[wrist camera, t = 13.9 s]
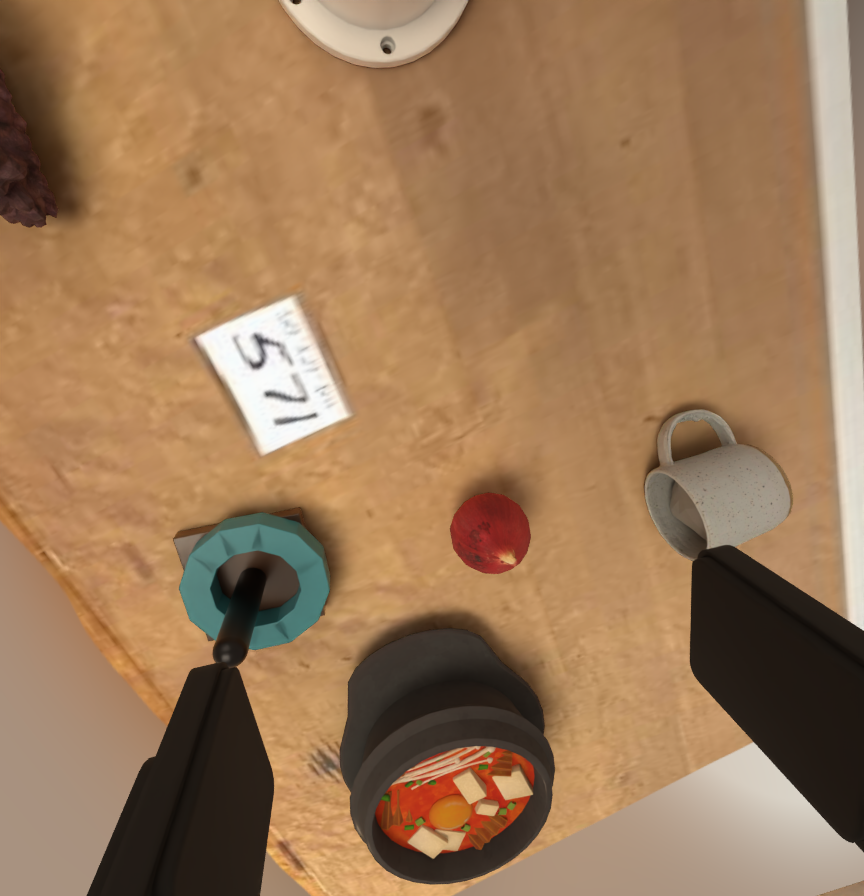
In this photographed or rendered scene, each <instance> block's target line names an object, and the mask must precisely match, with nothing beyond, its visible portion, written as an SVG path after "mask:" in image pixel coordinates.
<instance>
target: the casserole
mask: <svg viewBox="0 0 864 896" xmlns="http://www.w3.org/2000/svg"><path fill="white" fill-rule="evenodd" d="M543 734H544V717H543V710H542V707H541V705H540V702H539V700H538V697H537V695H536V694H535V693H534V691H533V690H532V689H531V687H530V686H529V684H528V683H527V682H525V681H524V680H523V679H522V678H520V677H519V676H518V675H517V674H516V673H514V672H513V671H512V670H511V669H509V668H508V667H507V666H506V665H504V664H503V663H502V662H501V661H500V660H499V658H498V657H497V656H496V655H495V653H494V652H493V651H492V649H491V648H490V647H489V646H488V644H487V643H486V642H485V641H484V639H483V638H482V637H481V636H479V635H477V634H475V633H473V632H470V631H468V630H463V629H452V628H447V629H436V630H428V631H424V632H420V633H416V634H412V635H408V636H405V637H403V638H401V639H398V640H396V641H394V642H391V643H389V644H387V645H385V646H384V647H382V648H380V649H379V650H377V651H376V652H374V653H373V654H371V655H369V656H368V657H367V658H366V659H365V660H364V661H363V662H362V663H361V664H360V665H359V666H357V667H356V668H355V670H354V672H353V674H352V676H351V678H350V680H349V682H348V718H347V722H346V726H345V730H344V734H343V739H342V743H341V747H340V768H341V771H342V775H343V778H344V781H345V783H346V785H347V787H348V788H349V790H350V791H351V796H350V814H351V817H352V820H353V824H354V827H355V829H356V831H357V832H358V834H359V835H360V837H361V839H362V840H363V841H364V842H365V843H366V844H367V846H368V849H369V851H370V852H371V854H372V855H373V857H374V859H375V860H376V861H377V862H378V863H379V864H380V865H381V866H382V867H383V868H384V869H385V870H386V871H388V872H390V873H392V874H394V875H396V876H397V877H399V878H402V879H405V880H409V881H412V882H416V883H424V884H451V883H456V882H462V881H467V880H470V879H473V878H476V877H480V876H483V875H485V874H487V873H489V872H491V871H494V870H496V869H498V868H500V867H501V866H503V865H505V864H506V863H508V862H509V861H511V860H512V859H514V858H515V857H516V856H518V855H519V854H520V853H521V852H522V851H523V850H525V849H526V848H527V847H528V846H529V845H530V843H531V842H532V841H533V840H534V839H535V838H536V836H537V835H538V834H539V832H540V830H541V829H542V827H543V826H544V824H545V822H546V820H547V817H548V814H549V812H550V809H551V803H552V795H553V794H552V786H553V781H554V773H555V765H554V756H553V753H552V750H551V748H550V745H549V743H548V741H547V739H546V738H545V737H544V735H543Z"/></svg>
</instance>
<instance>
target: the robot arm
mask: <svg viewBox="0 0 864 896" xmlns="http://www.w3.org/2000/svg"><path fill="white" fill-rule="evenodd" d="M300 1H301V3H300V4H298V5H296V4H293V3H292V2H293V0H279V2H280V4H281V6H282V7H283V9H284V10H285V11H286V13H287V14H288V15H289V17H290V18H291V19H292V21H293V22H294V23H295V24H296V26H297V27H298V28H299V29H300V30H301V31H302V32H303V33H304V34H305V35H306V36H307V37H308V38H309V39H311V40H312V41H313V42H314V43H315V44H316V45H318V46H319V47H321V48H322V49H324V50H325V51H327V52H328V53H330V54H331V55H333V56H334V57H337V58H339V59H342V60H344V61H347V62H349V63H352V64H354V65H360V66H365V67H371V68H387V67H396V66H400V65H403V64H407V63H410V62H413V61H415V60H417V59H419V58H420V57H422V56H424V55H426V54H428V53H430V52H431V51H432V50H433V49H434V48H435V47H436V46H438V45H439V44H440V43H441V42H442V41H443V40H444V39H445V38H446V37H447V36H448V34H449V33H450V32H451V30H452V29H453V28H454V26H455V25H456V24H457V22H458V20H459V18H460V16H461V14H462V12H463V10H464V8H465V7H466V4H467V2H468V0H300ZM384 48H389V49H390V51H391V54H385V53H384V52H383V49H384ZM690 666H691V669H692V672H693V674H694V676H695V677H696V679H697V680H698V681H699V683H700V684H701V685H702V686H703V687H704V688H705V689H706V690H707V691H708V692H709V694H710V695H711V696H712V697H713V698H714V699H715V700H716V701H717V702H718V703H719V704H720V706H721V707H722V708H723V709H724V710H725V711H726V712H727V713H728V714H729V715H730V716H731V718H732V719H733V720H734V721H735V722H736V723H737V724H738V725H739V726H740V727H741V728H742V730H743V731H744V732H745V733H746V734H747V735H748V736H749V737H750V738H751V739H752V741H753V742H754V743H755V744H756V745H757V746H758V747H759V748H760V749H761V750H762V751H763V752H764V754H765V755H766V756H767V757H768V758H769V759H770V760H771V761H772V762H773V763H774V764H775V766H776V767H777V768H778V769H779V770H780V771H781V772H782V773H783V774H784V775H785V777H786V778H787V779H788V780H789V781H790V782H791V783H792V784H793V785H794V786H795V788H796V789H797V790H798V791H799V792H800V793H801V794H802V795H803V796H804V797H805V798H806V799H807V801H808V802H809V803H810V804H811V805H812V806H813V807H814V808H815V809H816V810H817V812H818V813H819V814H820V815H821V816H822V817H823V818H824V819H825V820H826V821H827V822H828V823H829V825H830V826H831V827H832V828H833V829H834V830H835V831H836V832H837V833H838V834H839V835H840V836H841V837H842V838H843V839H845V840H846V841H848V842H852V843H854V842H855V843H856V845H857V846H858V847H859V848H860V849H861V850H862V851H863V852H864V631H863V630H862V629H860V628H858V627H857V626H855V625H854V624H852V623H851V622H849V621H848V620H846V619H845V618H843V617H842V616H840V615H838V614H837V613H835V612H834V611H832V610H831V609H829V608H828V607H826V606H825V605H823V604H822V603H820V602H818V601H817V600H815V599H814V598H812V597H811V596H809V595H808V594H806V593H805V592H803V591H802V590H800V589H798V588H797V587H795V586H794V585H792V584H791V583H789V582H788V581H786V580H785V579H783V578H782V577H780V576H778V575H777V574H775V573H774V572H772V571H771V570H769V569H768V568H766V567H765V566H763V565H762V564H760V563H758V562H757V561H755V560H754V559H752V558H751V557H749V556H748V555H746V554H745V553H743V552H742V551H740V550H738V549H737V548H735V547H734V546H731V545H723V546H718V547H714V548H710V549H705V550H702V551H700V552H699V554H698V557H697V559H695V560H694V561H693V563H692V588H691V633H690ZM273 795H274V778H273V772H272V768H271V765H270V762H269V759H268V756H267V753H266V750H265V747H264V744H263V741H262V738H261V735H260V732H259V729H258V726H257V723H256V720H255V717H254V714H253V711H252V708H251V705H250V702H249V699H248V696H247V693H246V690H245V687H244V684H243V681H242V678H241V675H240V672H239V670H238V668H237V667H233V668H229V667H228V665H227V664H226V663H225V662H219V663H215V664H210V665H206V666H202V667H197V668H193V669H192V670H191V671H190V673H189V674H188V677H187V679H186V682H185V684H184V687H183V689H182V692H181V694H180V697H179V699H178V702H177V704H176V707H175V709H174V712H173V714H172V717H171V719H170V722H169V724H168V727H167V729H166V732H165V734H164V737H163V739H162V742H161V744H160V747H159V749H158V752H157V754H156V756H155V757H152V758H149V759H148V760H147V761H146V762H145V763H144V764H143V766H142V767H141V769H140V771H139V773H138V776H137V778H136V780H135V783H134V785H133V787H132V790H131V792H130V794H129V797H128V799H127V801H126V804H125V806H124V809H123V811H122V813H121V816H120V818H119V820H118V823H117V825H116V828H115V830H114V832H113V835H112V837H111V839H110V842H109V844H108V847H107V849H106V851H105V854H104V856H103V858H102V861H101V863H100V865H99V868H98V870H97V873H96V875H95V877H94V880H93V882H92V884H91V887H90V889H89V892H88V894H87V896H260V891H261V883H262V876H263V869H264V861H265V853H266V847H267V839H268V832H269V825H270V817H271V810H272V802H273ZM818 896H864V881H861V882H858V883H855V884H852V885H849V886H846V887H842V888H839V889H836V890H834V891H830V892H827V893H824V894H821V895H818Z"/></svg>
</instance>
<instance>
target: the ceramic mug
mask: <svg viewBox="0 0 864 896" xmlns="http://www.w3.org/2000/svg"><path fill="white" fill-rule="evenodd" d="M701 419H703V420H704V421H706V422H707V423H709V424H710V425H711V426H712V428H713V429H714V430H715V431H716V433H717V435H718V437H719V439H720V442H721V444H722V447H719V448H715V449H713V450H710V451H707V452H705V453H702V454H699V455H695V456H692V457H688V458H685V459H682V460H679V461H675V462H673V460H672V456H671V436H672V433H673V430H674V429H675V427H676V424H677V423H679V422H683V421H690V420H692V421H699V420H701ZM657 449H658V458H659V462H660V467H658V468H656V469H653V470H652V471H651V472H650V473H649V474H648V475H647V478H646V480H645V498H646V503H647V507H648V510H649V513H650V516H651V518H652V520H653V522H654V524H655V526H656V527H657V529H658V531H659V533H660V534H661V536H662V537H663V538H664V539H665V540H666V542H667V543H668V544H669V545H670V546H671V547H672V548H673V549H674V550H675V551H676V552H678V553H679V554H680V555H682V556H683V557H685V558H687V559H689V560H691V561H694V560H695V559H697V557H698V554H699V552H700V551H702V550H705V549H710V548H714V547H718V546H723V545H731V546H734V547H736V546H738V545H740V544H742V543H744V542H746V541H748V540H750V539H752V538H755V537H757V536H759V535H761V534H764V533H766V532H768V531H770V530H772V529H773V528H775V527H776V526H777V525H779V524H780V523H781V522H783V521H784V520H785V519H786V518H787V517H788V516H789V514H790V512H791V509H792V505H793V495H792V489H791V485H790V482H789V480H788V478H787V476H786V474H785V472H784V470H783V469H782V468H781V466H780V465H779V464H778V463H777V462H776V461H775V460H774V459H773V458H772V457H771V456H770V455H769V454H767V453H766V452H764V451H762V450H761V449H759V448H757V447H754V446H751V445H746V444H737V443H736V441H735V437H734V435H733V432H732V431H731V429H730V427H729V425H728V424H727V423H726V422H725V421H724V420H723V419H722V418H721V417H720V416H718V415H717V414H715V413H713V412H710V411H707V410H702V409H701V410H699V409H697V410H689V411H685V412H682V413H679V414H676V415H674V416H672V417H670V418H669V419H668V420H667V421H666V422H665V423H664V424H663V426H662V428H661V429H660V431H659V434H658V438H657Z"/></svg>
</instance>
